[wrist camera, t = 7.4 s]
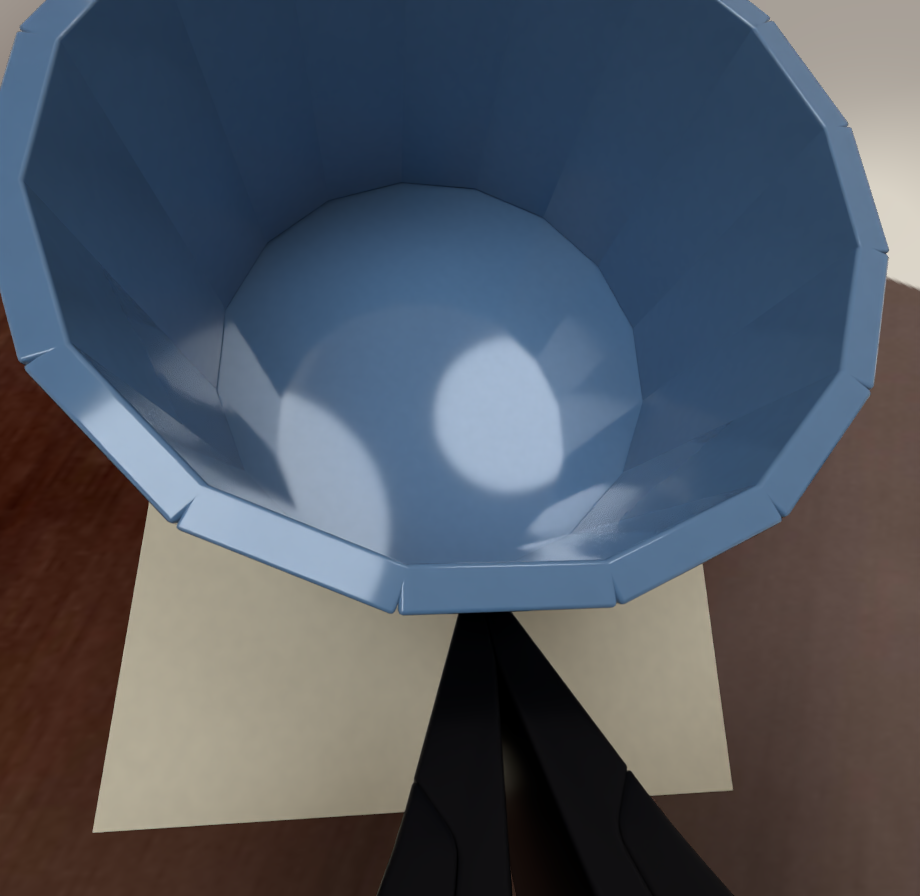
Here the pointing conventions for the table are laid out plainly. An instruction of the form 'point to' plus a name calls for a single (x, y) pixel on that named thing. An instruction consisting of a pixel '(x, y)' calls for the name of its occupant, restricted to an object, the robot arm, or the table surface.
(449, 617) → the placemat
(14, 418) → the table surface
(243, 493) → the blue bowl
